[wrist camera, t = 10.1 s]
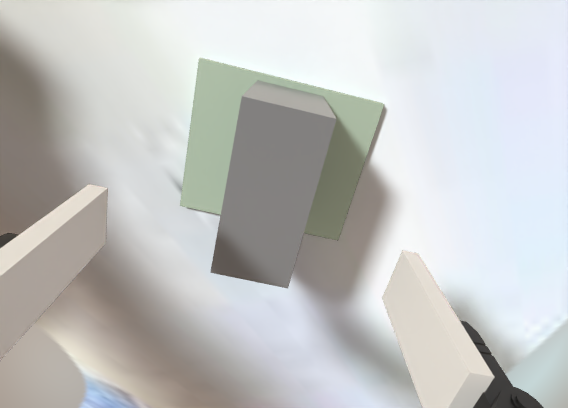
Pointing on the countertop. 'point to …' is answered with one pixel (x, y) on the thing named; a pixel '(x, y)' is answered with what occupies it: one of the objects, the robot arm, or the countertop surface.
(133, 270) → the countertop surface
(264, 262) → the block
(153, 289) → the countertop surface
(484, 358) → the robot arm
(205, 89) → the board
